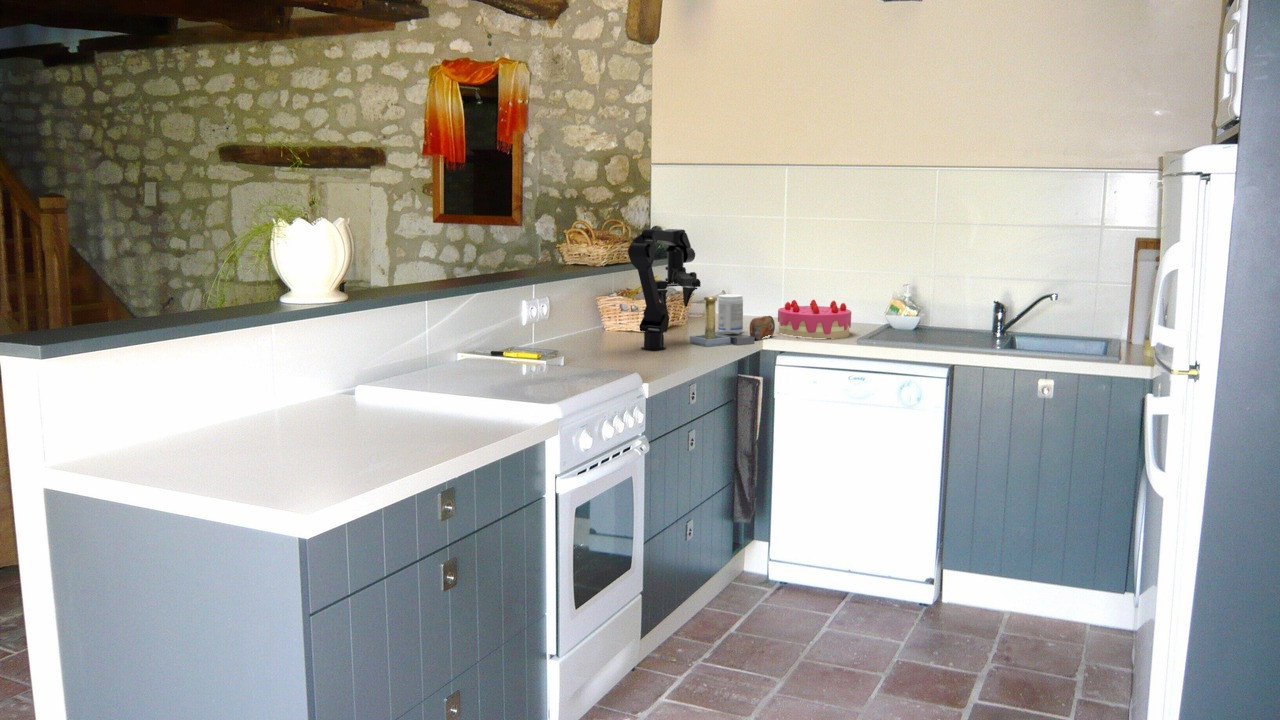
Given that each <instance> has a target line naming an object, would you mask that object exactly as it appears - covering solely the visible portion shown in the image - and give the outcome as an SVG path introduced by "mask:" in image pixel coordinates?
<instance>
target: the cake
mask: <svg viewBox="0 0 1280 720" xmlns="http://www.w3.org/2000/svg"><path fill="white" fill-rule="evenodd" d="M777 322H778V334H779V333H782V334H787V335H793V336H802V337H812V338H839V339H844V338H848V337H849V336H850V328H851V326H852V310H850V309H847V305H846V303H844V302H843V303H841V304H840V305H839V307H838V304H837V302H836V300H832V301H831V302H830V304H829V306H820V305H819V304H818V303H817V302H816V300H815V299H812V300H811V301H810V303H809V305H799V304H798V303H797V300H796V299H792V300H791V302H789V301H787V302H785V304H784V306H783V307H780V308H778V310H777Z"/></svg>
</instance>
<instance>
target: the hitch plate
mask: <svg viewBox="0 0 1280 720" xmlns="http://www.w3.org/2000/svg"><path fill="white" fill-rule="evenodd" d="M715 334H716V335H721V336H725V337H730V338H731V340H730V345H734V346H742V345H753V344H755V342H756V341H755V337H753V336H750V335H748V334H743V333H734V332H729V331H726V332H719V331H715Z"/></svg>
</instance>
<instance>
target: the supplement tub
mask: <svg viewBox="0 0 1280 720" xmlns="http://www.w3.org/2000/svg"><path fill="white" fill-rule="evenodd" d="M717 301H718V302H717V303H718V304H717V305H718V310H717V312H718V313H717V315H718V316H717V317H718V318H717V319H718V321H717V323H718V325H717V326H718V327H717V329H718V331H717V332H726V331H729V332H734V333H739V334H742V333H743V331H744V321H743V320H744V299H743V295H742V294H736V293H734V294H733V293H726V294H719V295H718V298H717Z"/></svg>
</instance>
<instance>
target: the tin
mask: <svg viewBox="0 0 1280 720" xmlns="http://www.w3.org/2000/svg"><path fill="white" fill-rule="evenodd" d="M775 327H776V323H775V319H774V317H772V315H763V316H758V317H754V318H752V319H751V320H750V323H749V336H753V337H755V340H756V341H762V338H763V337H765V336H768V335H772V336H774V334H775V329H776V328H775Z"/></svg>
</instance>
